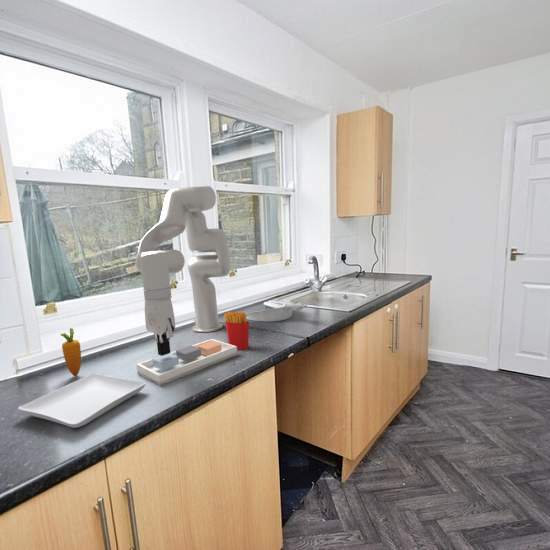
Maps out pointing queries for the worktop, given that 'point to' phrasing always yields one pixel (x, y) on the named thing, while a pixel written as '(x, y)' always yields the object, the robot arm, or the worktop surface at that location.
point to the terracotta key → (210, 348)
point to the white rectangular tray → (185, 364)
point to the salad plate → (83, 399)
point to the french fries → (237, 329)
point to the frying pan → (275, 312)
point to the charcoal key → (188, 353)
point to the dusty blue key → (165, 361)
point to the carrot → (72, 353)
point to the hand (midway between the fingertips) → (164, 353)
